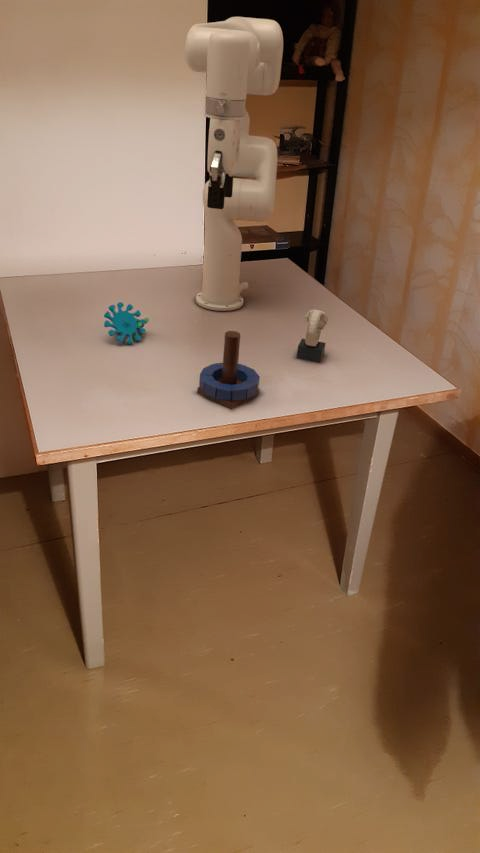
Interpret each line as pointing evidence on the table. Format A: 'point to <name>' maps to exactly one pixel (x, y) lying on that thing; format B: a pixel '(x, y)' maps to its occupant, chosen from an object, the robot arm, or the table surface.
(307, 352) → the ram head statue
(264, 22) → the robot arm
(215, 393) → the ring
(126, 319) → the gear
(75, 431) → the table surface
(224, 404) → the stand
